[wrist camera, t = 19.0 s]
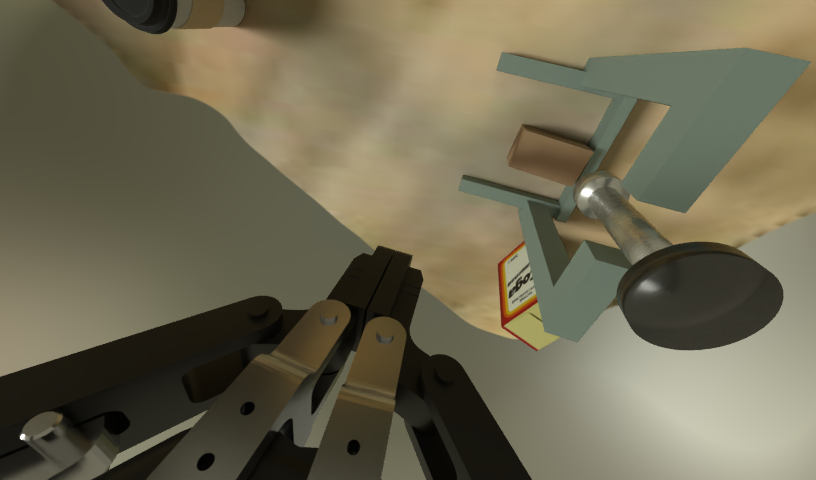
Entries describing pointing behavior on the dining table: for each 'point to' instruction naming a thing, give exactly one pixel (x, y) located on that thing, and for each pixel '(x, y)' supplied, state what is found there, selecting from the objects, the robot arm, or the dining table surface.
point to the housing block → (548, 155)
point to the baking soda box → (521, 300)
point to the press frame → (640, 157)
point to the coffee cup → (178, 13)
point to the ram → (679, 277)
